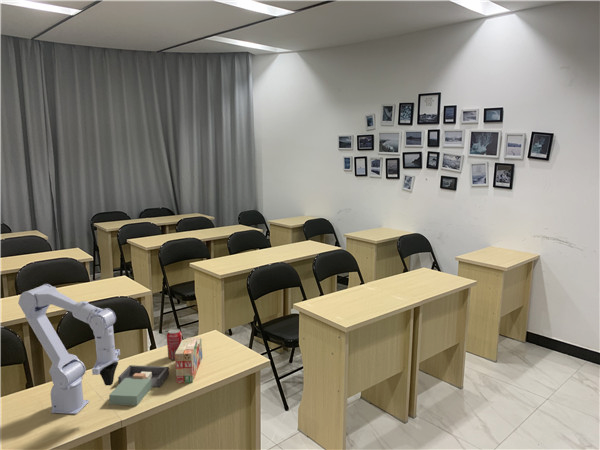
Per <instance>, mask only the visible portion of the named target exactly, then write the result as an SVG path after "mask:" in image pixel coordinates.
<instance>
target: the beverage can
mask: <svg viewBox="0 0 600 450" xmlns="http://www.w3.org/2000/svg"><path fill="white" fill-rule="evenodd" d="M182 340H183V333H182V331H181V329H180V328H171V329H169V330H168V331H167V334H166V342H167V343H166V344H167V346H166V347H167V358H168V359H170V360H172V361H175V353H176V351H177V349H178V347H179V345H180V343H181V341H182Z"/></svg>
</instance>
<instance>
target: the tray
mask: <svg viewBox="0 0 600 450" xmlns="http://www.w3.org/2000/svg"><path fill="white" fill-rule="evenodd" d="M141 372H152V377H151V387H152V388H161V386H162V385H163V384H164V382H165V381H166V380H167V378H168V377H169V376H170V367H169V366H162V365H161V366H159V365H131V364H129V365H128V367H127V368H125V370H124V371H123V372H122V373H121V374H120V375H119V376H118V377H117V378H118V385H119V384H120V383H121V382H122V381H123V380H124V379H125V378H133V375H134V374H135V373H141Z"/></svg>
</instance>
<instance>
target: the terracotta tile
mask: <svg viewBox="0 0 600 450" xmlns="http://www.w3.org/2000/svg"><path fill="white" fill-rule="evenodd" d="M133 378H140V379H146V374H145V373H135V374H134V375H133Z"/></svg>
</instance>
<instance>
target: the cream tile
mask: <svg viewBox="0 0 600 450" xmlns="http://www.w3.org/2000/svg"><path fill="white" fill-rule="evenodd" d="M141 373H145V374H146V379H151V377H152V372H141Z"/></svg>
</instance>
